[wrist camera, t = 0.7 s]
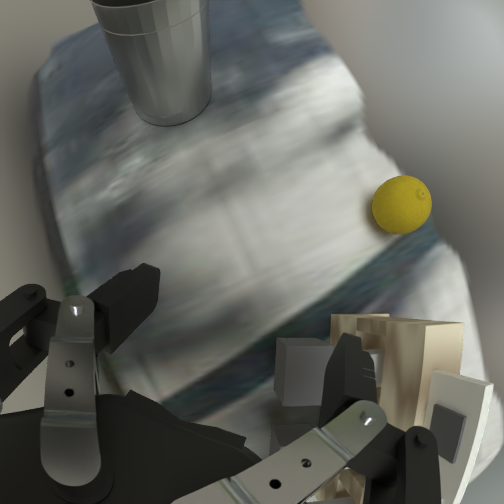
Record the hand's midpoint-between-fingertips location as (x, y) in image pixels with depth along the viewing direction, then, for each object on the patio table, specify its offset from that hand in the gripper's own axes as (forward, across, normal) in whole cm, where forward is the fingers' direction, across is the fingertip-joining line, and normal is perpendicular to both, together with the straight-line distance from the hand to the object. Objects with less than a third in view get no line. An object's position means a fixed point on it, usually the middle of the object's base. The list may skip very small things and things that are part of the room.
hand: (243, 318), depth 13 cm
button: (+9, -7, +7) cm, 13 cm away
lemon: (+24, -9, -1) cm, 25 cm away
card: (-1, -13, +8) cm, 15 cm away
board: (+12, -12, +16) cm, 24 cm away
